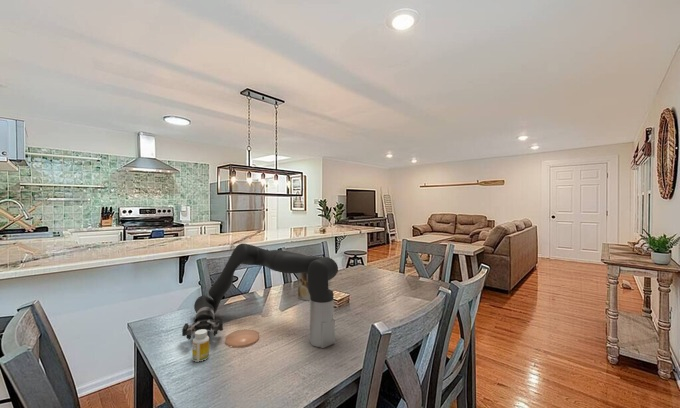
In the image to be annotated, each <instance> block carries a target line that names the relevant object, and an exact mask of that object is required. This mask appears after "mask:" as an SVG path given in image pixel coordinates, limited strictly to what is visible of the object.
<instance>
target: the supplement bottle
mask: <svg viewBox="0 0 680 408" xmlns="http://www.w3.org/2000/svg"><path fill="white" fill-rule="evenodd" d="M195 331H196V330H195ZM191 353H192V356H191V357H192V358H191V359H192V361H193V362H194V361H195V363H200V362H199V361H202V362H204V361H203V360H205V361H206V359H207V358H208V359H209V357H210V337H209V335H208V331H207V330H206V329H201V330H197V331H196V332H195V334H194V338H193V339H192V352H191ZM208 359H207V360H208Z"/></svg>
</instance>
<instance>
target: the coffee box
mask: <svg viewBox="0 0 680 408" xmlns="http://www.w3.org/2000/svg"><path fill="white" fill-rule="evenodd" d="M297 298H298V300H303V301H308V302H310V294H309V291H308V273H297Z"/></svg>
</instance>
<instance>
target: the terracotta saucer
mask: <svg viewBox="0 0 680 408" xmlns="http://www.w3.org/2000/svg"><path fill="white" fill-rule="evenodd" d="M259 340H260V332H258V331H257V330H254V329H251V328H250V329H248V328H247V329H240V330H235V331H232V332H230V333H228V334H227V335H226V336H225V338H224V342H225V343H224V344H225V345H226V344H227V345H228V347H230V346H232V347H231V348H234V347H241V348H246V346H247V347H249V346H252V345H255V344H256V343H258V341H259ZM227 345H226V346H227Z"/></svg>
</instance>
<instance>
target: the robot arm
mask: <svg viewBox="0 0 680 408" xmlns="http://www.w3.org/2000/svg"><path fill="white" fill-rule="evenodd" d="M241 265H248V266H263V267H266V268H268V269H269V270H271V271H275V272H278V273H282V274H298V273H308V291H309V294H310V301H309V304H310V305H309V343H310V345H311V346H313V347H316V348H321V349H325V348H328V347H330V346H331V345H334V344H335V340H336V339H335V338H336V337H335V336H336V335H335V334H336V333H335V332H336V328H335V326H336V320H335V319H334V299H335V298H334V291H333V290H332V289H330V288H329V281H331V280H332V279H334V278H335V277H336V276H337V274H338V272H339V267H338V263H337V262H336V261H335V260H334V259H333V258H331V257H329V256H328V257H327V256H313V255H306V254H302V253H297V252H292V251H288V250H283V249H272V250H271V249H270V250H269V249H265V248H261V247H259V246H256V245H252V244H250V243H249V244H248V243H239V244H237V245H236V246H235V248H234V250H233V251H232V253H231V255H230V257H229V259H228V260H227V261H226V263H225V266H224V268H223V269H222V272H221V273H220V275H219V276H218V278H217V279H216V280H215V281H214V283H213V284H212V285H211V287H210V288H209V290H208V295H209V296H207V295H199V296H198V297H197V298H196V300H195V301H194V305H193V307H194V308H193V309H194V311H195V313H196V314H195V316H194V320H193V323H192V324H189V323H185V324H184V325H183V327H182V329H181V330H182V331H181V332H182V333H181V334H182V335H181V336H182V337H185V336H186V339H188V340H189V341H190V340H192V335H195V332H196V331H197V330H201V329H206V330H207V332H210V333H212V332H213V337H216V335H218V333H219V332H222V331H223V330H224V328H223V327H224V323H223V318H219V319H218V320H217V321H216V320H215V314H216V313H217V311H218V308H219V307H220V303H221V301H222V299H223V297H224V296H225V295H226V293H227V292H228V291H229V289H231V286H232V285H233V281H234V280H233V279H234V274H235V271H236V270H237V269H238V267H239V266H241Z"/></svg>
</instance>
